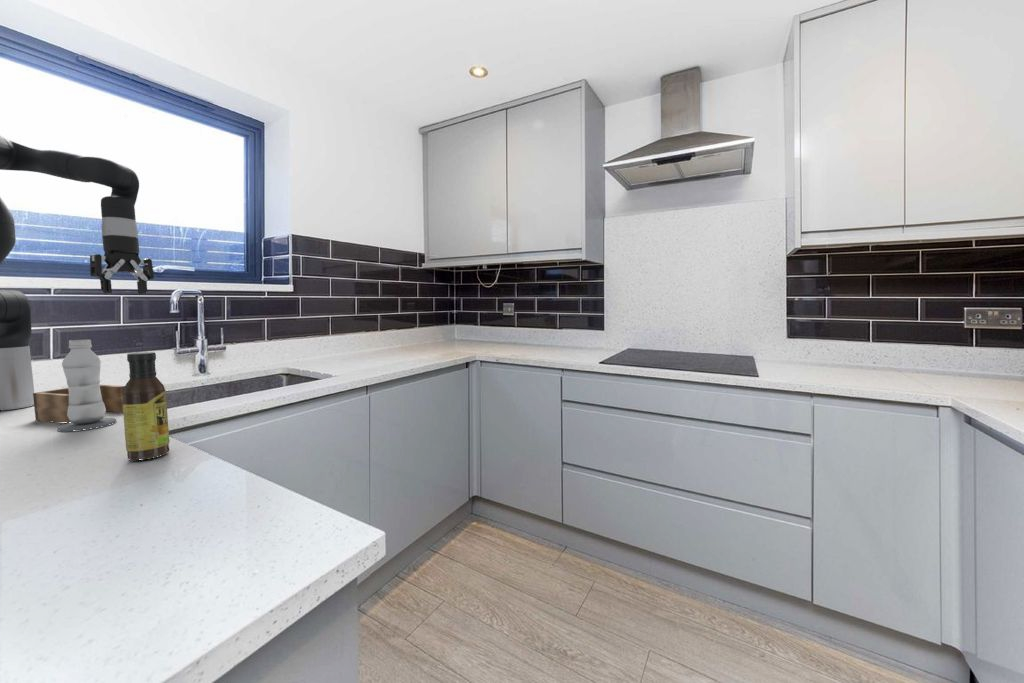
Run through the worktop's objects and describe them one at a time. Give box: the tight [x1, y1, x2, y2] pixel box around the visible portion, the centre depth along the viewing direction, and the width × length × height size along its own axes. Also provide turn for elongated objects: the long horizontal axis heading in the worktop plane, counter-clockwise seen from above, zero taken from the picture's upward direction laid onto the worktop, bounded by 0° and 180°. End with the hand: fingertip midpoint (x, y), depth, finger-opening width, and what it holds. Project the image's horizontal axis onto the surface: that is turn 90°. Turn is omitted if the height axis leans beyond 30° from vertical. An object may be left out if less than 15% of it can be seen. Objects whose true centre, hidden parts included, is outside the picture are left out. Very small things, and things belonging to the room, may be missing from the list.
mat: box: [57, 417, 117, 432], centre depth 102 cm, size 10×10×1 cm
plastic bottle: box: [61, 339, 107, 424], centre depth 101 cm, size 6×7×20 cm
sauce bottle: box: [123, 351, 170, 461], centre depth 80 cm, size 6×6×20 cm
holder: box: [33, 384, 125, 423], centre depth 111 cm, size 12×12×7 cm
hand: (125, 293), depth 121 cm, fingers open, 8 cm apart
